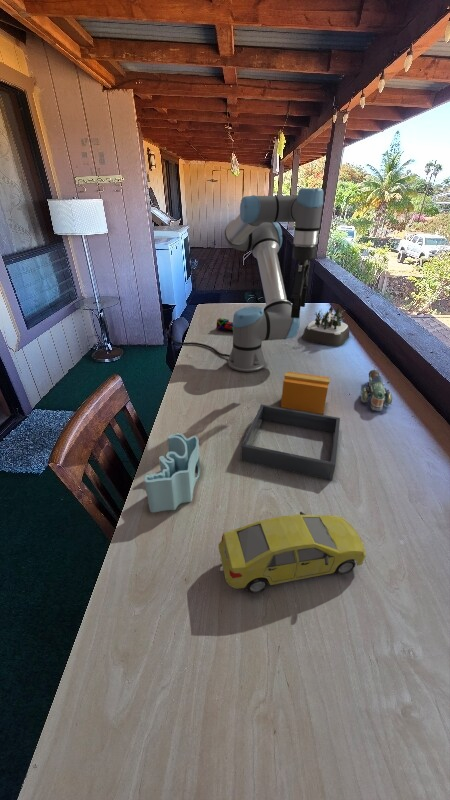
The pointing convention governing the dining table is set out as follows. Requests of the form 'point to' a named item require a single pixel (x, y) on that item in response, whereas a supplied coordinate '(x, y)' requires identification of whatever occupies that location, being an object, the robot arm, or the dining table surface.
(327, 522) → the toy car
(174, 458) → the squiggly pen holder
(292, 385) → the orange striped block
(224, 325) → the sculpture
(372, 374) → the hoverbike
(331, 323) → the miniature diorama
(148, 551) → the dining table surface
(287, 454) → the rectangular frame
